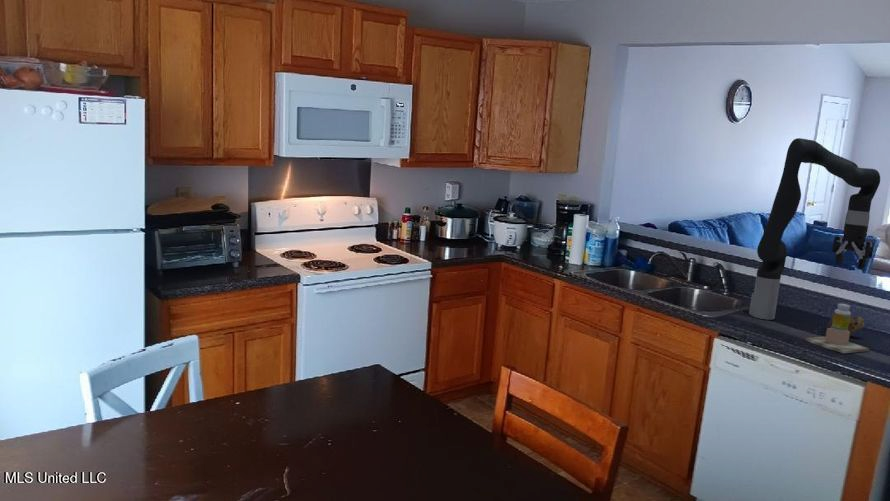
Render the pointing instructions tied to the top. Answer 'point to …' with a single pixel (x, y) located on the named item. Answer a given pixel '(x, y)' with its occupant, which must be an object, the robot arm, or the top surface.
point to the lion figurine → (852, 324)
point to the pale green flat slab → (839, 348)
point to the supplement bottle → (841, 318)
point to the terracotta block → (837, 337)
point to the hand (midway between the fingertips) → (849, 266)
